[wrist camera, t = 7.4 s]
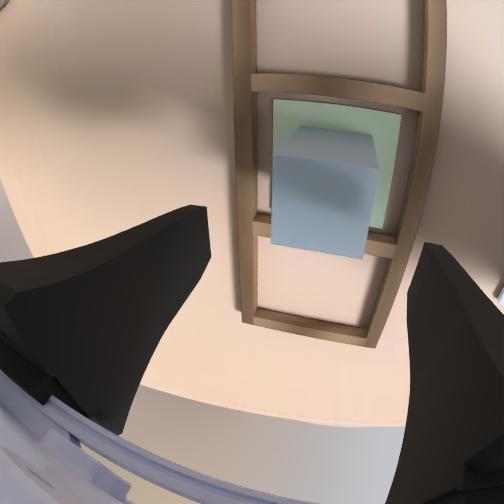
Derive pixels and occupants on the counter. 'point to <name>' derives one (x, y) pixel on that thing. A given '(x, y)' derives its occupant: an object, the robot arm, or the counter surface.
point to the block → (324, 191)
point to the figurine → (3, 2)
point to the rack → (343, 119)
